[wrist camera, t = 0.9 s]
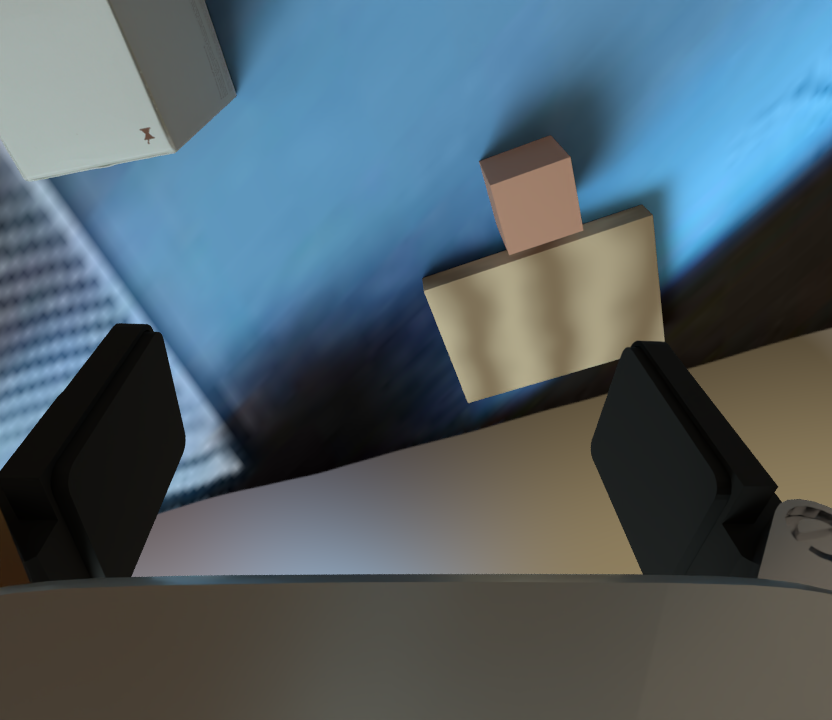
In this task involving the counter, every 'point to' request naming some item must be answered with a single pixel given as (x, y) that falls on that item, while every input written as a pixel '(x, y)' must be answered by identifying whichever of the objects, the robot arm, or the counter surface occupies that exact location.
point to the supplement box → (105, 81)
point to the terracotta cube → (532, 194)
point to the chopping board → (550, 305)
